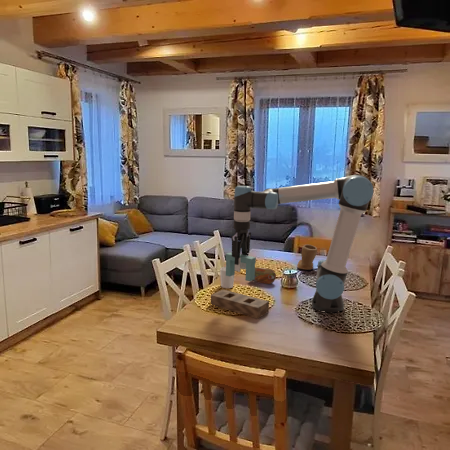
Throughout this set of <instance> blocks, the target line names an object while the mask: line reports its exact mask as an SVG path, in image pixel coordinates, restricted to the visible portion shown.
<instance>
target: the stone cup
mask: <svg viewBox="0 0 450 450" xmlns="http://www.w3.org/2000/svg"><path fill="white" fill-rule="evenodd" d="M317 252H318V247H316V246H314V245H312V244H309V243H308V244H304V245H303V246H302V247H301V255H300V256H301V259H300V260H299V261H298V262H297V265H296V267H297V268H298V269H299V270H306V271H307V270H308V271H309V270H313V267H314V260H315V258H316V257H317Z"/></svg>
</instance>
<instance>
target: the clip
mask: <svg viewBox="0 0 450 450" xmlns="http://www.w3.org/2000/svg"><path fill="white" fill-rule="evenodd" d="M240 258H241V262H242V263H246V269H245V279H244V280H245V281H247V282H253V281H252V280H254V279H255V268H256V263H257V258H256V256H251V255H248V256H247V255H242V253H240ZM225 267H226V276H229V277H230V276H232V275H234V276H235V274H236V271H235V257H232V251H230V252H227V253H225Z"/></svg>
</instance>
